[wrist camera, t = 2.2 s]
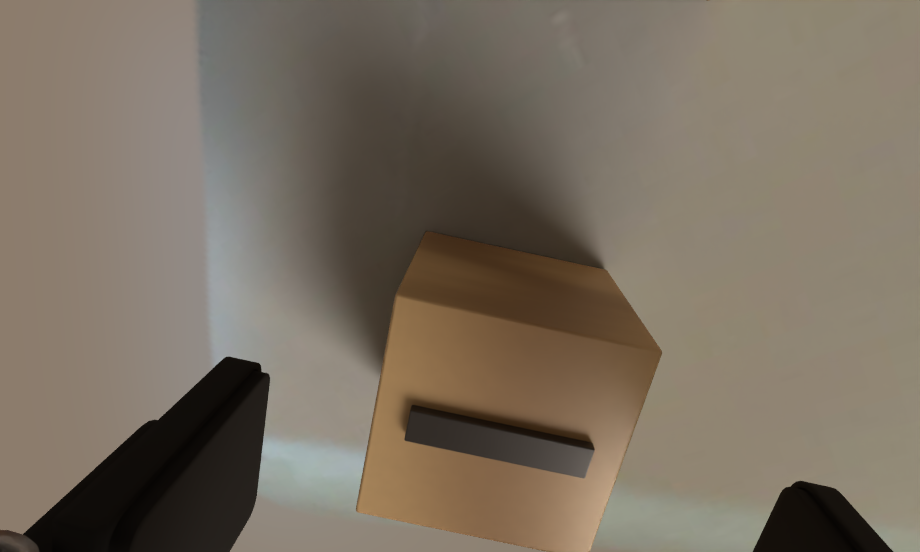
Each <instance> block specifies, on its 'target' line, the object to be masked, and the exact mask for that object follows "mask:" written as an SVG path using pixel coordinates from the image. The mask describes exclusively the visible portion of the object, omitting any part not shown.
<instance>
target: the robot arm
mask: <svg viewBox="0 0 920 552" xmlns="http://www.w3.org/2000/svg"><path fill="white" fill-rule="evenodd" d="M269 384H270V377H269V374H267V373H263V372H261V365H260V364H259V363H256V362H251V361H247V360H242V359H237V358H233V357H226V358H224V359H223V360H222V361H221V362H220V363H218V364H217V365H216V366H215V367H214V368H213V369H212V370H211V371H210V372H209V373H208V374H207V375H206V376H205V377H204V378H202V379H201V380H200V381H199V382H198V383H197V384H196V385H195V386H194V387H193V388H192V389H191V390H190V391H189V392H188V393H187V394H185V395H184V396H183V397H182V398H181V399H180V400H179V401H178V402H177V403H176V404H175V405H174V406H173V407H172V408H171V409H170V410H168V411H167V412H166V413H165V414H164V415H163V416H162V417H161V418H160V419H159V420H152V421H148V422H147V423H145V424H144V425H143V426H141V427H140V428H139V429H138V430H137V431H136V432H135V433H134V434H132V435H131V436H130V437H129V438H128V439H127V440H126V441H125V442H124V443H123V444H121V445H120V446H119V447H118V448H117V449H116V450H115V451H114V452H113V453H112V454H111V455H109V456H108V457H107V458H106V459H105V460H104V461H103V462H102V463H101V464H100V465H98V466H97V467H96V468H95V469H94V470H93V471H92V472H91V473H90V474H89V475H88V476H86V477H85V478H84V479H83V480H82V481H81V482H80V483H79V484H78V485H77V486H75V487H74V488H73V489H72V490H71V491H70V492H69V493H68V494H67V495H66V496H64V497H63V498H62V499H61V500H60V501H59V502H58V503H57V504H56V505H55V506H54V507H52V508H51V509H50V510H49V511H48V512H47V513H46V514H45V515H44V516H42V518H40V519H39V520H38V521H37V522H36V523H35V524H34V525H33V526H32V527H30V528H29V529H28V530H27V531H26V532H25V533H24V534H23V535H22V534H19V533H16V532H12V531H9V530H0V552H230V550H231V548H232V546H233V544H234V543H235V541H236V540H237V538H238V536H239V535H240V533H241V531H242V530H243V528H244V526H245V525H246V523H247V521H248V519H249V517H250V516H251V513H252V511H253V508H254V505H255V501H256V496H257V488H258V479H259V471H260V462H261V453H262V445H263V436H264V427H265V418H266V410H267V401H268V392H269ZM753 552H893V551H892V550H891V549H890V548H889V547H888V545H887V544H886V543H885V542H884V541H883V540H882V539H881V538H880V537H879V535H878V534H877V533H876V532H875V531H874V530H873V529H872V528H871V526H870V525H869V524H868V523H867V522H866V521H865V520H864V519H863V518H862V516H861V515H860V514H859V513H858V512H857V511H856V510H855V509H854V508H853V506H852V505H851V504H850V503H849V502H848V501H847V500H846V499H845V497H844V496H843V495H842V494H841V493H840V492H839V491H837V490H836V489H834V488H831V487H827V486H822V485H818V484H813V483H808V482H804V481H798V482H795V483H794V484H793V485H792V486H791V487H786V488H785V489H783V490H782V492H781V493H780V495H779V498H778V500H777V502H776V504H775V506H774V508H773V510H772V512H771V514H770V517H769V519H768V521H767V523H766V525H765V527H764V529H763V531H762V533H761V536H760V538H759V540H758V542H757V544H756V546H755V548H754V550H753Z"/></svg>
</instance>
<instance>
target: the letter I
mask: <svg viewBox="0 0 920 552" xmlns="http://www.w3.org/2000/svg"><path fill="white" fill-rule="evenodd" d="M661 355H662V351H661V349H660V348H659V346H658V345H657V343H656V342H655V340H654V339H653V337H652V336H651V335H650V333H649V332H648V330H647V329H646V327H645V326H644V324H643V323H642V321H641V320H640V318H639V317H638V315H637V314H636V313H635V311H634V310H633V308H632V307H631V305H630V304H629V302H628V301H627V299H626V298H625V296H624V295H623V293H622V292H621V291H620V289H619V288H618V286H617V285H616V283H615V282H614V280H613V279H612V277H611V276H610V274H609V273H608V271H607V270H604V269H600V268H595V267H590V266H586V265H581V264H577V263H572V262H567V261H563V260H558V259H553V258H549V257H544V256H540V255H535V254H530V253H526V252H521V251H517V250H512V249H507V248H503V247H498V246H494V245H489V244H484V243H480V242H475V241H470V240H466V239H461V238H457V237H452V236H447V235H443V234H438V233H434V232H429V231H426V232H425V234H424V236H423V238H422V240H421V242H420V244H419V246H418V249H417V251H416V253H415V255H414V257H413V259H412V261H411V263H410V265H409V268H408V270H407V272H406V274H405V276H404V278H403V280H402V282H401V284H400V287H399V289H398V291H397V293H396V295H395V299H394V304H393V310H392V315H391V321H390V326H389V332H388V337H387V342H386V348H385V353H384V359H383V364H382V370H381V375H380V381H379V386H378V392H377V397H376V402H375V408H374V413H373V419H372V424H371V430H370V435H369V441H368V446H367V452H366V457H365V462H364V468H363V473H362V479H361V484H360V490H359V495H358V501H357V506H356V511H357V512H359V513H364V514H368V515H373V516H378V517H383V518H388V519H393V520H397V521H402V522H407V523H412V524H417V525H422V526H426V527H431V528H436V529H441V530H446V531H450V532H456V533H460V534H465V535H470V536H475V537H479V538H485V539H489V540H494V541H499V542H503V543H508V544H513V545H518V546H523V547H528V548H532V549H537V550H542V551H547V552H590V549H591V547H592V544H593V541H594V538H595V536H596V533H597V530H598V527H599V525H600V522H601V519H602V516H603V514H604V511H605V508H606V506H607V503H608V500H609V497H610V495H611V492H612V489H613V486H614V484H615V481H616V478H617V475H618V473H619V470H620V467H621V464H622V462H623V459H624V456H625V453H626V451H627V448H628V445H629V442H630V440H631V437H632V434H633V431H634V429H635V426H636V423H637V421H638V418H639V415H640V412H641V410H642V407H643V404H644V401H645V399H646V396H647V393H648V390H649V388H650V385H651V382H652V379H653V377H654V374H655V371H656V368H657V366H658V363H659V360H660V357H661Z"/></svg>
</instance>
